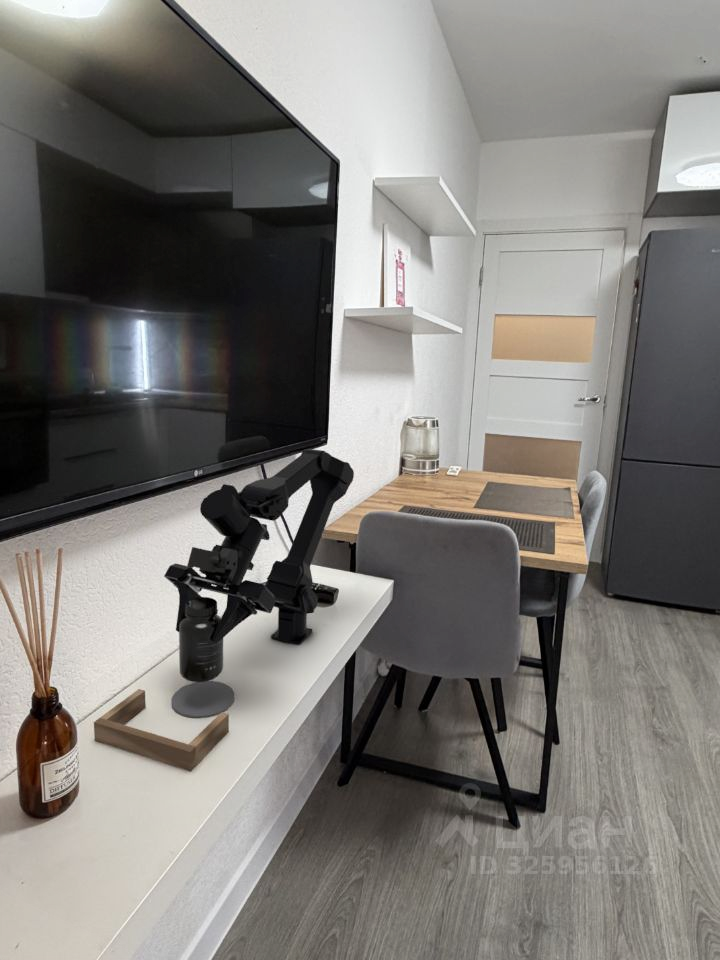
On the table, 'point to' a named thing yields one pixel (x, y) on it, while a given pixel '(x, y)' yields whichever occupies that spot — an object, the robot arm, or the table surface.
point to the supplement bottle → (200, 641)
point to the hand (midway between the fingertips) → (195, 636)
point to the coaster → (202, 699)
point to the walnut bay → (152, 745)
